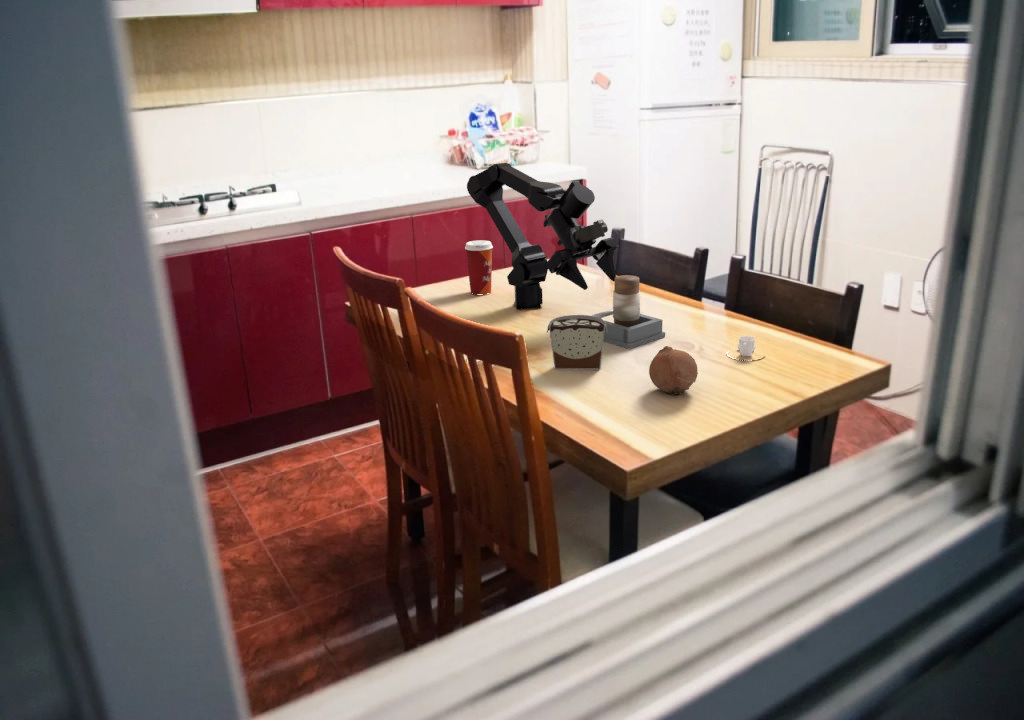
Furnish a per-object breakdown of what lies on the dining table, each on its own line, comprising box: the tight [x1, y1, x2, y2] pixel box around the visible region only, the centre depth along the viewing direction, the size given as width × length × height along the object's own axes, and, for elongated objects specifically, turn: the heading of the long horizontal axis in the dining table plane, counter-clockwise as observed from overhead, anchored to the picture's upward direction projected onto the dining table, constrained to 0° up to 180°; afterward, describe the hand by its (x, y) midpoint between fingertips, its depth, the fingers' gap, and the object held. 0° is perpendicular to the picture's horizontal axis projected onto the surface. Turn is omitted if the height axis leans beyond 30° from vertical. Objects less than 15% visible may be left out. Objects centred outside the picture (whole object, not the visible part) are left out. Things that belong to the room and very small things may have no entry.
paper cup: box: [464, 239, 494, 294], centre depth 227 cm, size 8×8×14 cm
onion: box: [648, 345, 699, 395], centre depth 157 cm, size 9×9×10 cm
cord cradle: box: [591, 308, 666, 350], centre depth 188 cm, size 12×12×5 cm
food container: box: [546, 314, 608, 371], centre depth 172 cm, size 12×6×10 cm, turn 84°
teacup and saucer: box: [725, 335, 756, 362], centre depth 175 cm, size 9×8×4 cm
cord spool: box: [612, 274, 641, 327], centre depth 187 cm, size 6×6×12 cm
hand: (600, 284), depth 192 cm, fingers open, 9 cm apart
